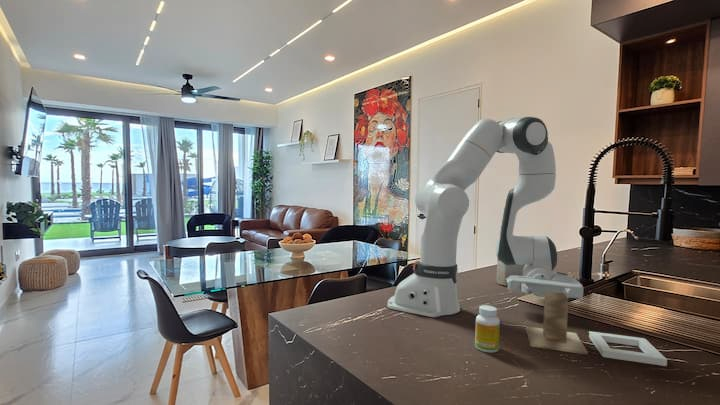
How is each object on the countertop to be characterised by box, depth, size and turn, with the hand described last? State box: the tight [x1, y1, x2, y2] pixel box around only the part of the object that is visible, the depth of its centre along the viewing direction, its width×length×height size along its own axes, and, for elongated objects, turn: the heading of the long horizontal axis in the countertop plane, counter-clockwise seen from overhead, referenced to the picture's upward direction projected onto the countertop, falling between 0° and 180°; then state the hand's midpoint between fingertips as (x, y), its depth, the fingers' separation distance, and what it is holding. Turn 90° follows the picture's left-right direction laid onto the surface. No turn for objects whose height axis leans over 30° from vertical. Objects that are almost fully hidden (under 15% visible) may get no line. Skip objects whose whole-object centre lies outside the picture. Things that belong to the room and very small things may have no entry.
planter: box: [495, 258, 525, 287], centre depth 146 cm, size 11×11×10 cm
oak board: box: [525, 326, 589, 355], centre depth 92 cm, size 12×12×1 cm
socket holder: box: [588, 330, 668, 367], centre depth 87 cm, size 12×12×2 cm
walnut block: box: [542, 292, 569, 343], centre depth 92 cm, size 4×4×11 cm
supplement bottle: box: [474, 304, 501, 354], centre depth 87 cm, size 5×5×10 cm
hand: (547, 293), depth 104 cm, fingers open, 8 cm apart
